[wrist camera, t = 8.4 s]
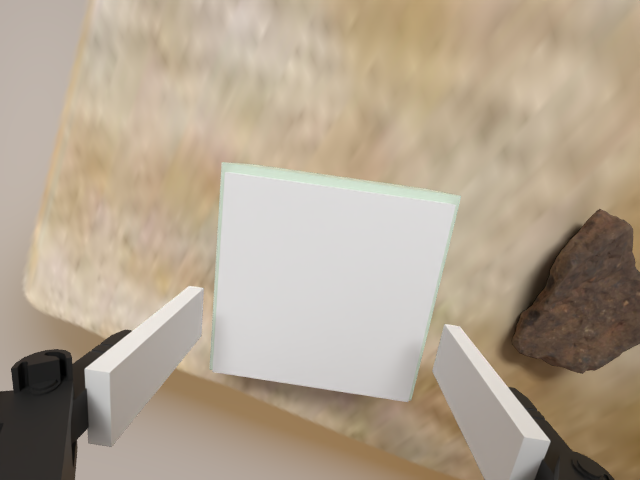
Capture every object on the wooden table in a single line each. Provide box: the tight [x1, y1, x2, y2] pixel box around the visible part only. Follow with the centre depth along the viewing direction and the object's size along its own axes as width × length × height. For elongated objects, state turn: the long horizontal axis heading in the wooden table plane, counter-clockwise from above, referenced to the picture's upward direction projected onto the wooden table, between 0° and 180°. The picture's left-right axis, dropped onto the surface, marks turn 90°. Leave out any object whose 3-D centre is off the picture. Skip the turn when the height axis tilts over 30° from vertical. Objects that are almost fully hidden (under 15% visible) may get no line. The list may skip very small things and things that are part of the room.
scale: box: [210, 162, 461, 402], centre depth 22 cm, size 15×14×8 cm
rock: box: [512, 209, 640, 374], centre depth 24 cm, size 11×10×4 cm
